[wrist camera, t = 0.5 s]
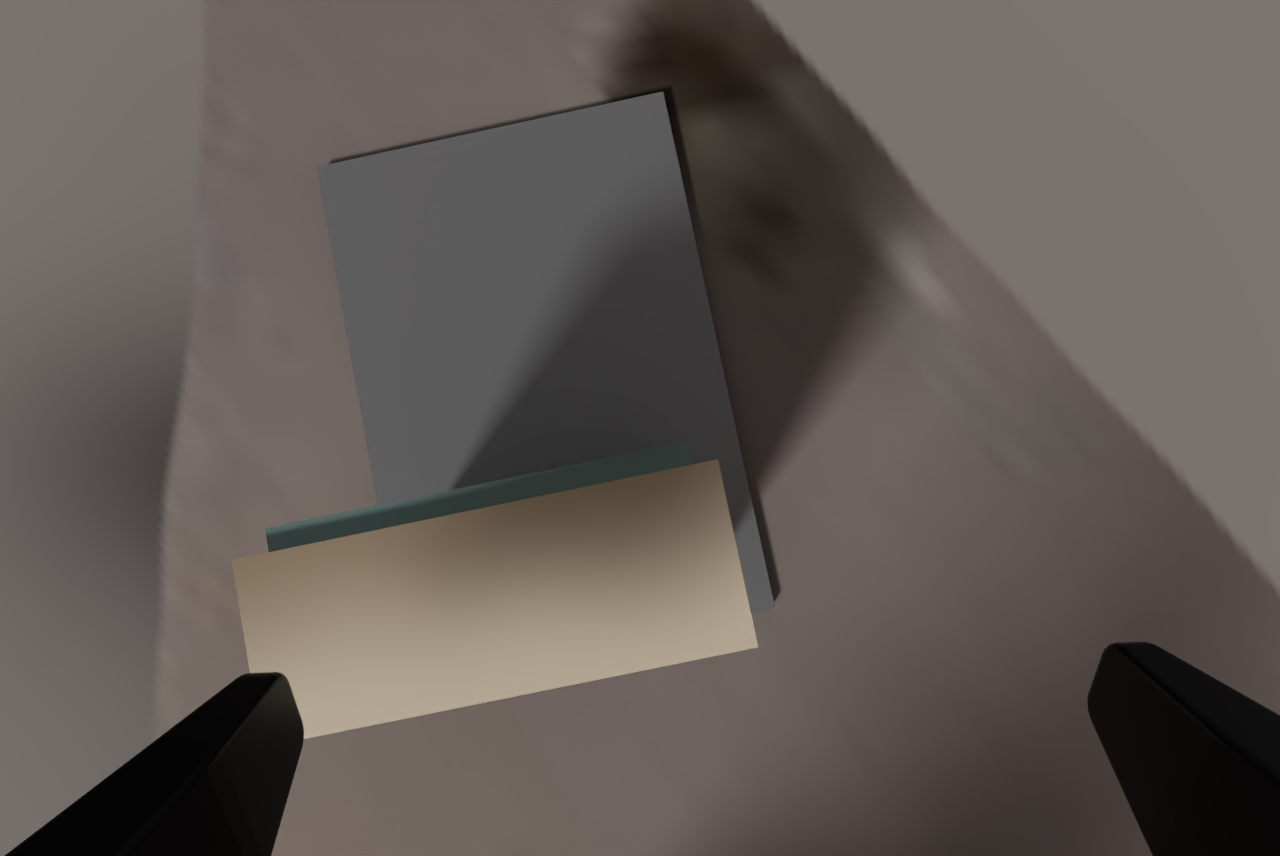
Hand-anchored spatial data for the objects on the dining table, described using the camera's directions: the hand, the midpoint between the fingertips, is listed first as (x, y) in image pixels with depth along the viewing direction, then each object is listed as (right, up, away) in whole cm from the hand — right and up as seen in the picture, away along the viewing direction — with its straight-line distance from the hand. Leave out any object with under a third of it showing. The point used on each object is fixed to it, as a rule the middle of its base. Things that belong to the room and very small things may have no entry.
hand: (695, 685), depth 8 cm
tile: (-3, -1, +13) cm, 14 cm away
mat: (-4, +4, +14) cm, 15 cm away
